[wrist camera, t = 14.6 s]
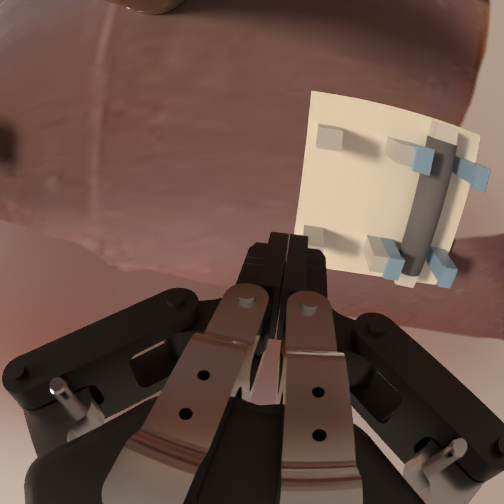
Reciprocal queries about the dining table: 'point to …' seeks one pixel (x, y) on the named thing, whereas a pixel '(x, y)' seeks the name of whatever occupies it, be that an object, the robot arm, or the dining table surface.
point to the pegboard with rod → (377, 186)
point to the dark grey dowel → (428, 203)
